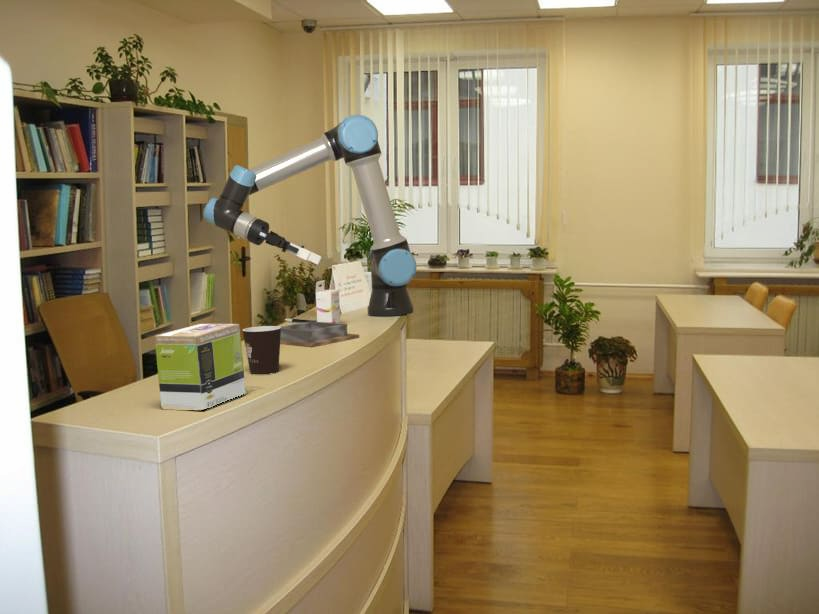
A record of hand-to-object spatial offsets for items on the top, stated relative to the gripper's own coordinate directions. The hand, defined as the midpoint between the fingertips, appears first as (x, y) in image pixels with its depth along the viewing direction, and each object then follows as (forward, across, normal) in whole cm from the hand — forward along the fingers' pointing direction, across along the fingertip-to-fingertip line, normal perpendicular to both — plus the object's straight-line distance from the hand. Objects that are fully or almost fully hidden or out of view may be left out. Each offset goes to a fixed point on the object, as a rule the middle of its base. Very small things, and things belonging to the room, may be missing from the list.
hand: (314, 258), depth 277 cm
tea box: (+18, +94, -33) cm, 101 cm away
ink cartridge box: (+13, -1, -17) cm, 22 cm away
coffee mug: (+18, +62, -27) cm, 70 cm away
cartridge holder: (+14, +17, -20) cm, 30 cm away
